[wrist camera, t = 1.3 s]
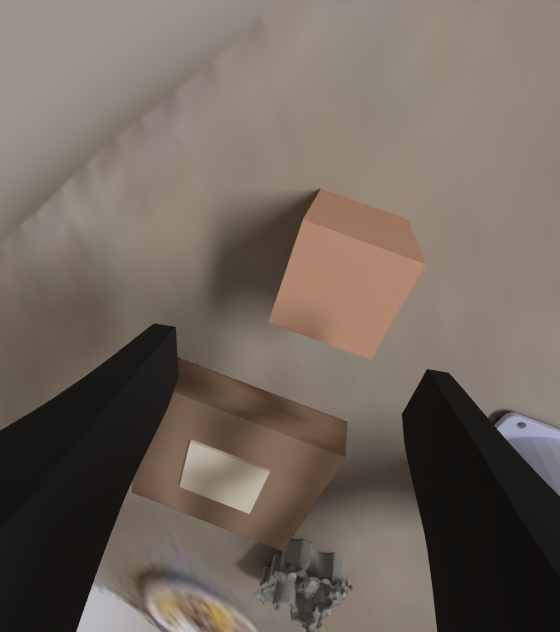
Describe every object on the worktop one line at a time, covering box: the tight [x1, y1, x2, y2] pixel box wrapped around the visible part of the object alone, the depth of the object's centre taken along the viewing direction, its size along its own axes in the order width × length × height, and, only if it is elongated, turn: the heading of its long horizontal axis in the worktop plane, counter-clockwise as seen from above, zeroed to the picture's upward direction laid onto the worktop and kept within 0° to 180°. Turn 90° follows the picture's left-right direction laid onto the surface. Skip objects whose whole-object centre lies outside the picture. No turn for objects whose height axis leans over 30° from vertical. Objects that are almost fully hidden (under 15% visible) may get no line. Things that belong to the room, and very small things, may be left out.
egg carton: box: [253, 539, 353, 632], centre depth 35 cm, size 11×8×4 cm
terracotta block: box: [269, 189, 426, 360], centre depth 16 cm, size 5×5×6 cm
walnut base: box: [132, 358, 347, 551], centre depth 27 cm, size 14×14×3 cm
